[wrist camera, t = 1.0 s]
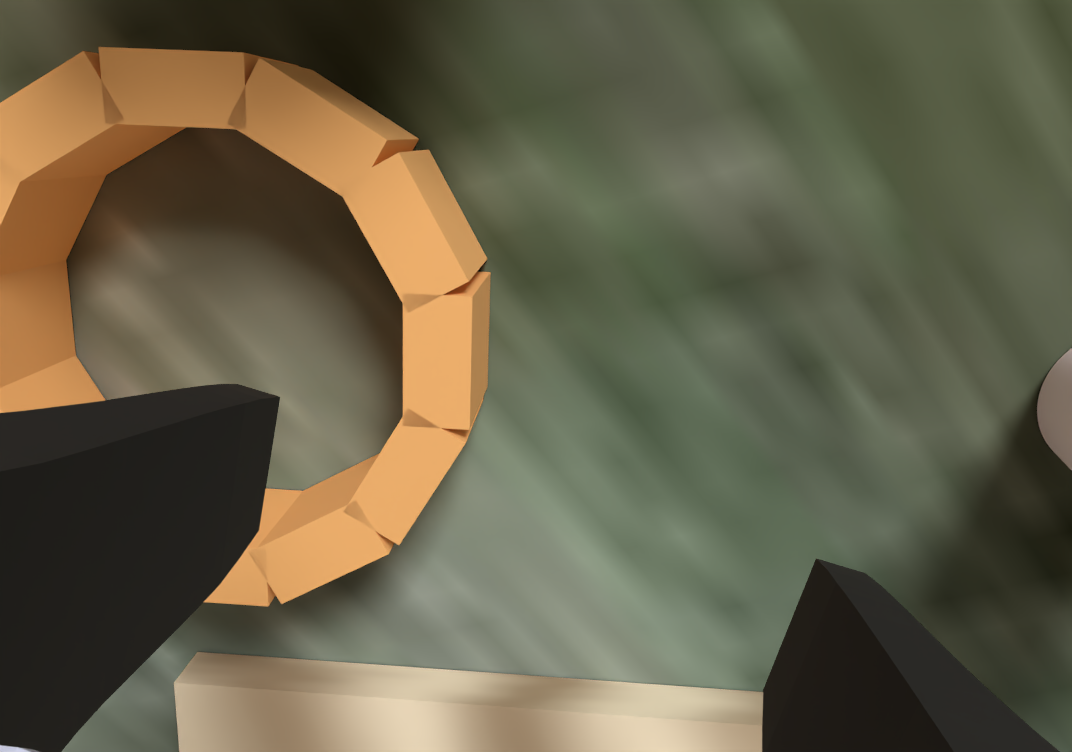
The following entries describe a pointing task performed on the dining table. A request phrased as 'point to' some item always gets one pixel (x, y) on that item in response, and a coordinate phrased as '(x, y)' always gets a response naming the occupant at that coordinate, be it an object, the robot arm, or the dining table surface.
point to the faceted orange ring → (327, 156)
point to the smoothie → (1057, 409)
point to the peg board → (445, 710)
